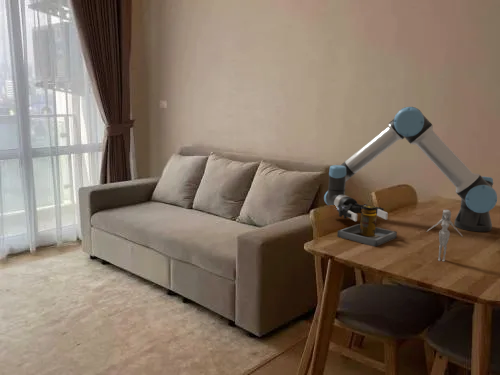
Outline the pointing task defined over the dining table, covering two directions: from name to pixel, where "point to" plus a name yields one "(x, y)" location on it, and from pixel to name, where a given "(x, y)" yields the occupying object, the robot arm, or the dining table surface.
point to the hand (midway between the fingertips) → (371, 217)
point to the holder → (375, 241)
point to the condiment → (368, 222)
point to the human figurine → (444, 231)
